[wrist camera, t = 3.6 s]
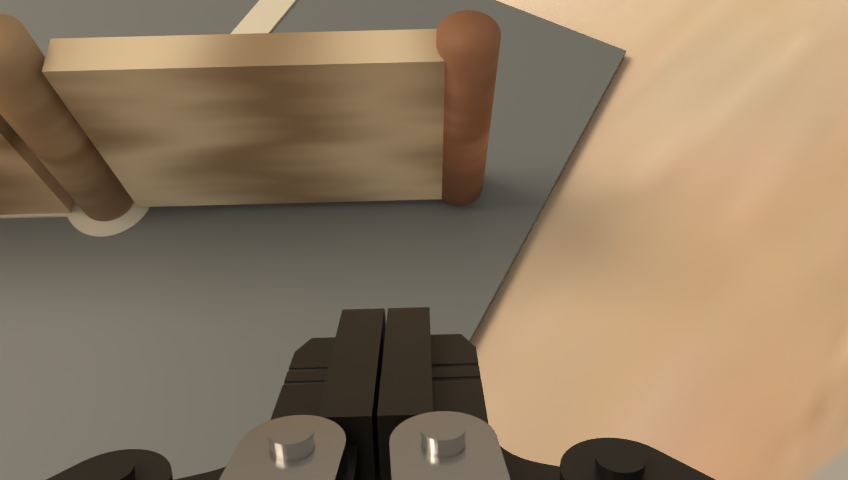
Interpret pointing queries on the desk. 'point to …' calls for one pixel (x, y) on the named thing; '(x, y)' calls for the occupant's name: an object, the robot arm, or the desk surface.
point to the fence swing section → (288, 112)
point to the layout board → (258, 250)
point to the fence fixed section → (46, 142)
